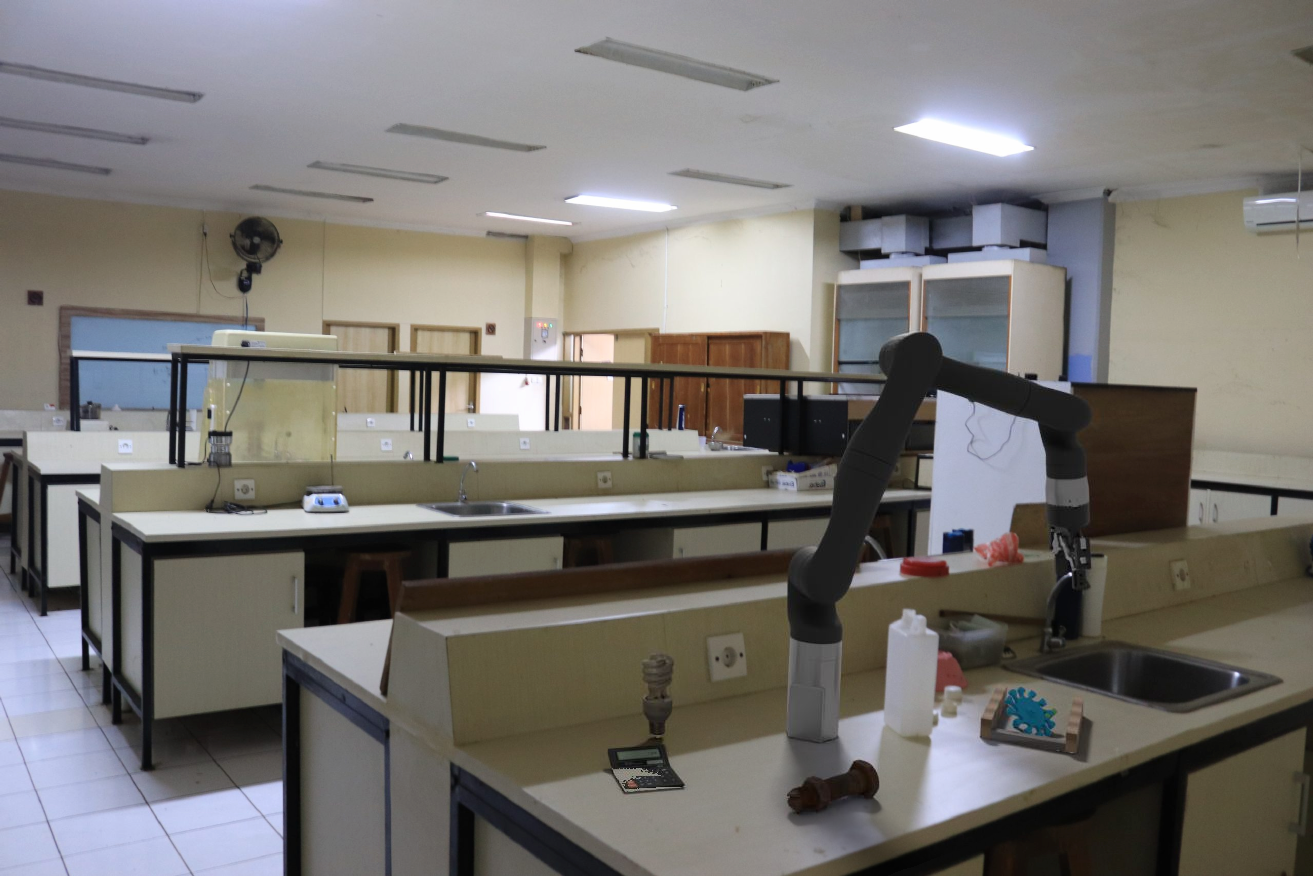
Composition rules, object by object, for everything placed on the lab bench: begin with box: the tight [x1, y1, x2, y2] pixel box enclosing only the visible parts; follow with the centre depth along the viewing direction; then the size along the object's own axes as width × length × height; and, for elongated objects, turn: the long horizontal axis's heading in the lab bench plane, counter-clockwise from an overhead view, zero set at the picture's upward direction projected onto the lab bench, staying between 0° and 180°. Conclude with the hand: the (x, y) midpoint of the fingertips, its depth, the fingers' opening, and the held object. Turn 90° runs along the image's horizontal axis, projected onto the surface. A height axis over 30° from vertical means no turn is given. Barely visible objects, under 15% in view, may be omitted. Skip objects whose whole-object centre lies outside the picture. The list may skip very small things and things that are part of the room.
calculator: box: [607, 744, 686, 789], centre depth 153 cm, size 9×12×3 cm
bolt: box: [786, 759, 880, 812], centre depth 145 cm, size 6×5×15 cm
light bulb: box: [641, 651, 675, 736], centre depth 170 cm, size 6×6×15 cm
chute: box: [979, 684, 1085, 754], centre depth 184 cm, size 24×16×4 cm, turn 154°
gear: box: [1005, 686, 1058, 737], centre depth 181 cm, size 11×6×10 cm
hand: (1070, 582), depth 186 cm, fingers open, 8 cm apart
